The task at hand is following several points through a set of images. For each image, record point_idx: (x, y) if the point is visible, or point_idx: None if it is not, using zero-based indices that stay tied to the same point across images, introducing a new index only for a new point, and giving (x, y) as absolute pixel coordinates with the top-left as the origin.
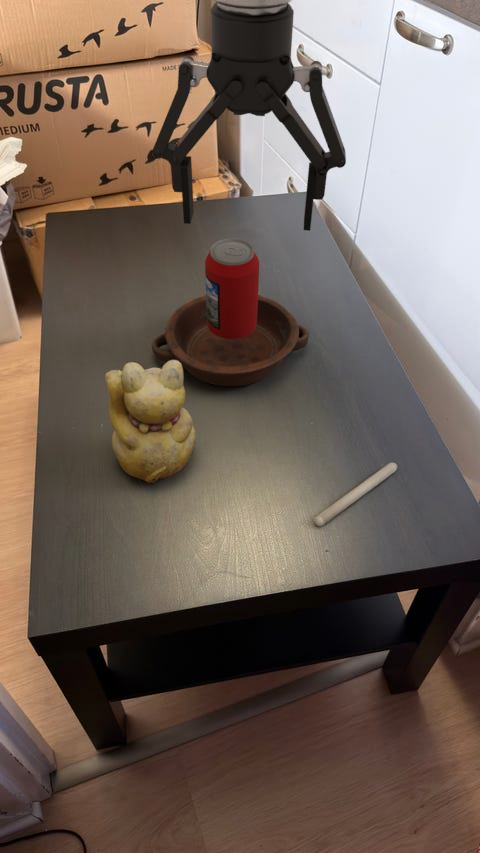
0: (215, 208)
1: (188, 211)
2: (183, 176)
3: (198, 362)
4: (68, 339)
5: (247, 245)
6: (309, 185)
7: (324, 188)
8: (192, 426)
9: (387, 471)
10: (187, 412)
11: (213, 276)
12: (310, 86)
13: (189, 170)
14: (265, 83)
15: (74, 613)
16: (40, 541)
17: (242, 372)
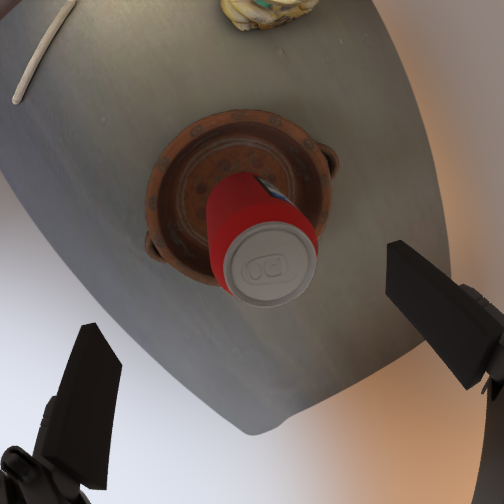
0: (324, 397)
1: (409, 258)
2: (480, 313)
3: (264, 120)
4: (418, 162)
5: (247, 297)
6: (60, 423)
7: (42, 422)
8: (229, 10)
9: (17, 88)
10: (239, 4)
11: (288, 204)
12: None
13: (465, 347)
14: None
15: None
16: None
17: (196, 122)
